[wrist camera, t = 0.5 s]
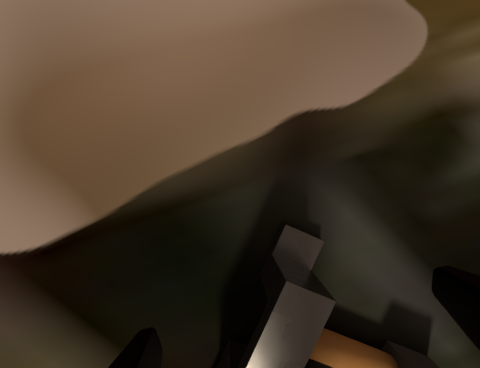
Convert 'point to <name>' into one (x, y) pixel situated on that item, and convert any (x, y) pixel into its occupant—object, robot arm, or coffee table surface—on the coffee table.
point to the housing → (286, 307)
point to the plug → (365, 354)
